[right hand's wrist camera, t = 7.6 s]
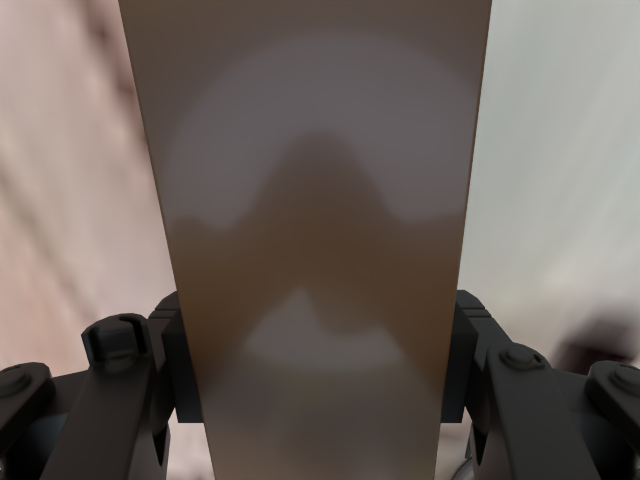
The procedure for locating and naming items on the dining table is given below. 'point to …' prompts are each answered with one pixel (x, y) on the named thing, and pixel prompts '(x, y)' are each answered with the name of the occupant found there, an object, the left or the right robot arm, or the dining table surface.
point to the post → (313, 218)
